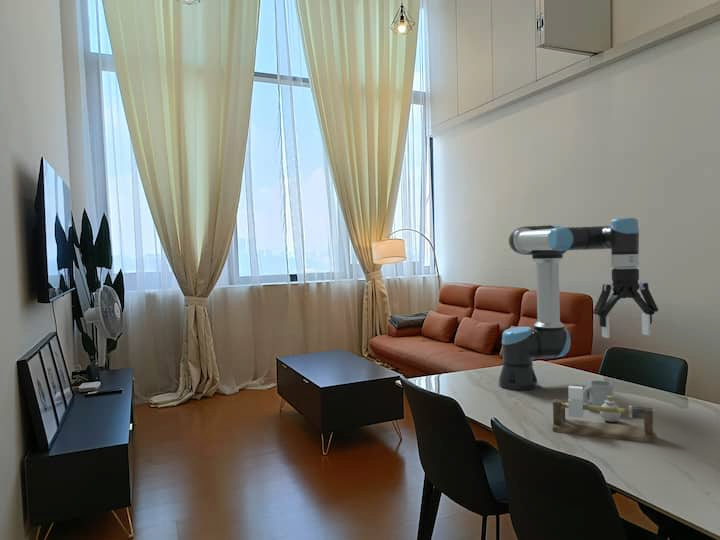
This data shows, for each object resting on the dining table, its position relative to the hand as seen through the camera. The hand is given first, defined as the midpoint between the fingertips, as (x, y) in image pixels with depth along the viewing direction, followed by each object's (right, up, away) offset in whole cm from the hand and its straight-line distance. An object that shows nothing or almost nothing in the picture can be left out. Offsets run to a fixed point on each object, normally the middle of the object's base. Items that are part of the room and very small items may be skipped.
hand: (625, 336), depth 156 cm
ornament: (-3, -28, +4) cm, 29 cm away
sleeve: (-16, -24, -1) cm, 29 cm away
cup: (-1, -28, +17) cm, 32 cm away
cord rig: (-10, -29, -4) cm, 30 cm away
